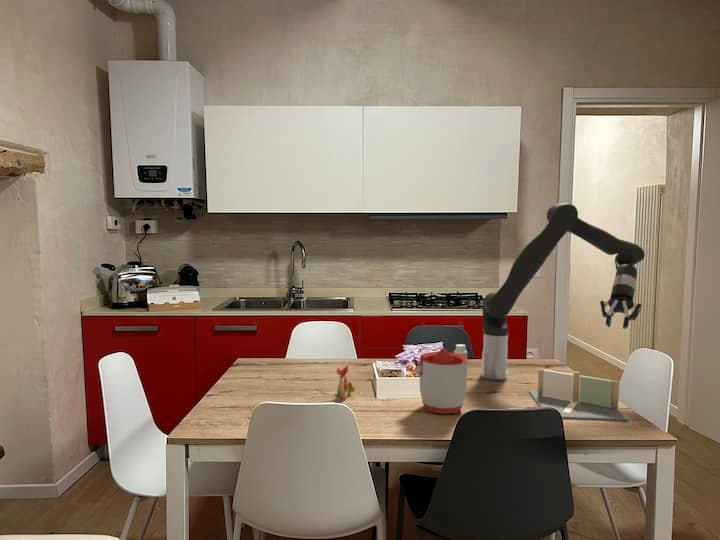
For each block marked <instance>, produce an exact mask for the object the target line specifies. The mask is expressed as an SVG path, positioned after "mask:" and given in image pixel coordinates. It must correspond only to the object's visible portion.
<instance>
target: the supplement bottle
mask: <svg viewBox="0 0 720 540" xmlns="http://www.w3.org/2000/svg"><path fill="white" fill-rule="evenodd" d="M453 353H456V354H461V355H464V356H466V357H467V358H468V351H467V350H466V344H462V343H461V344H460V343H459V344H458V343H457V344H455V349H454V350H453Z"/></svg>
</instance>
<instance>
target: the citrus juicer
mask: <svg viewBox="0 0 720 540" xmlns="http://www.w3.org/2000/svg"><path fill="white" fill-rule="evenodd" d="M419 356H420V357H419V365H417V366H415V367H414V370H413V374H414V375H416V374H419V390H420V391H419V392H420V397H421V400H422V401H421V402H422V404H423V407H424V409H425V410H427V411H428V412H430V413H432V412H434V413H433V414H440V415H450V414H451V413H452V414H456V413H455V412H457V413H458V412H460V411H461V409H462V407H463V405H464V402H465V399H466V398H465V397H466V393H467V386H468V382H467V381H468V362H469V358H468V356H467V357H466V356H464V355H461V354H456V353H454V352H449V351H448V350H447V349H446V348H444V347H443V348H441V349H440V350H439V351H431V352H430V351H429V352H424V353H422V354H421V355H419Z"/></svg>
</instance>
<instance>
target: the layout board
mask: <svg viewBox="0 0 720 540" xmlns="http://www.w3.org/2000/svg"><path fill="white" fill-rule="evenodd" d="M528 393H529V395H530V396H531V398H534V399H535V400H534V399H533V400H534V401H535V402H537V403H538V404H539V405H540V407H544V406H548V407H554V408H556V409H558V410H559V411H560V413H561V414H562V417H563V419H564V418H571V419H570V420H587V419H596V420H595V421H614V422H615V421H616V422H619V421H621V422H622V421H623V422H629V421H630V420H629V418H628V417H627V416H626V415H625V414H624V413H622V412H621V411H620V410H618V409H613V408H610V407H604V406H599V405H594V404H588V403H583V402H573V401H572V400H571V401H569V400H564V399H559V398H553V397H548V396H543V395H538V390H528ZM579 395H580V391H579ZM572 396H573V391H572ZM537 403H536V404H537ZM538 404H537V405H538ZM539 405H538V406H539ZM540 407H539V408H540Z"/></svg>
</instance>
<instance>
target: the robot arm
mask: <svg viewBox="0 0 720 540" xmlns="http://www.w3.org/2000/svg"><path fill="white" fill-rule="evenodd" d="M578 216H579V212H578V209H577V207H576V206H575V205H574V204H571V203H565V202H564V203H557V204H553V205H552V206H550V207H549V209H547V212H546V219H547V221H548V223H547V224H546V226H545V227H544V229H543V230H542V231H541V232H540V233H539V234H538V235H537V236H536V237H534V238H533V239H532V240H531V241H530V242H528V244H527V245H526V246H525V247H523V249H522V250H521V251H520V253H519V254H518V255H517V257H516V258H515V260H514V262H513V264H512V266H511V268H510V271H509V273H508V276H507V278H506V280H505V282H504V283H502V284H503V285H502V286H501V287H500V288H499V290H497V291H493V292H490V293H488V294H486V296H485V297H484V298H483V302H482V325H483V346H482V347H483V348H482V349H483V350H482V351H481V376H482V377H483V379H488V380H493V381H494V380H495V381H501V380H503V381H504V380H506V379H507V375H508V347H509V345H508V341H509V326H508V323H507V316H508V314H509V313H510V312H511V310H512V309H513V307H514V306H515V304H516V302H517V300H518V298H519V297H520V295H521V293H522V292H523V291H524V290H525V288H526V287H527V285H528V284H529V283H530V282H531V280H532V279H533V278H534V276H535V275H536V274H537V273H538V271H539V270H540V269H541V267H542V266H543V265H544V263H545V262H546V261H547V259H548V257H549V256H550V255H551V253H552V252H553V251H554V250H555V247H556V246H557V245H558V243H559V242H560V241H561V240H562V238H564V236H565V235H566V234H567V232H568V233H571V234H572V235H574V236H577V237H578V238H580V239H582V240H584V241H585V242H587V243H589V244H590V245H592V246H593V247H595V248H597V249H598V250H600V251H601V252H603V253H605V254H607V255H608V256H614V255H615V257H614V264H615V269H616V270H615V277H614V280H613V283H612V287H611V291H610V293H611V294H610V298H609V299H608V301H604V300H600V301H599V303H600V309H601V315H602V317H603V318H605V326H607V328H611V325H612V324H611V323H612V320H613V319H612V318H613V316H615V315H616V313H622V314H624V318H623V323H622V329H623V330H626V328H628V327H629V325H630V324H629V323H630V321H636V319H637V317H638V316H639V314H640V313H641V312H642V303H638V304H637V303H635V302H634V297H635V292H636V285H637V283H636V281H637V277H638V276H637V275H638V270H637V268H636V266H635V265H637V264H638V263H641V262H642V261H643V260H644V259H645V256H646V254H645V250H644V249H643V248H642V247H641V246H640V245H638V244H636V243H634V242H631V241H627V240H623V239H620V238H617V236H614V235H613V234H611V233H610V232H608V231H606V230H604V229H602V228H599V227H597V226H595V225H593V224H591V223H588V222H586V221H584V220H582V219H581V218H579V217H578ZM607 306H609V307H610V308H609V310H608V311H607V312H606V309H607ZM632 308H633V311H632V313H631V314H630V313H629V311H630V310H631V309H632Z"/></svg>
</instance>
